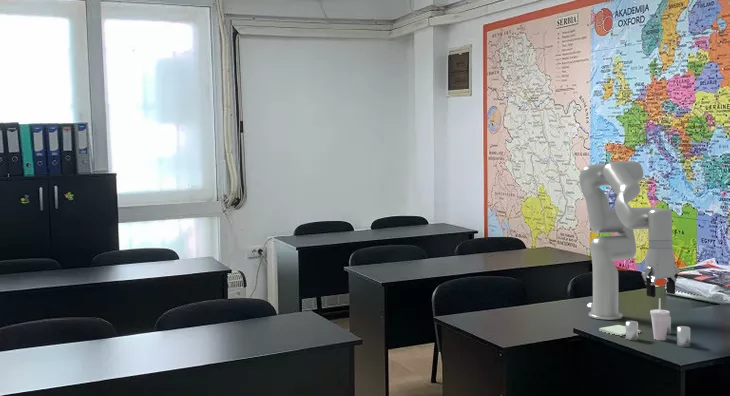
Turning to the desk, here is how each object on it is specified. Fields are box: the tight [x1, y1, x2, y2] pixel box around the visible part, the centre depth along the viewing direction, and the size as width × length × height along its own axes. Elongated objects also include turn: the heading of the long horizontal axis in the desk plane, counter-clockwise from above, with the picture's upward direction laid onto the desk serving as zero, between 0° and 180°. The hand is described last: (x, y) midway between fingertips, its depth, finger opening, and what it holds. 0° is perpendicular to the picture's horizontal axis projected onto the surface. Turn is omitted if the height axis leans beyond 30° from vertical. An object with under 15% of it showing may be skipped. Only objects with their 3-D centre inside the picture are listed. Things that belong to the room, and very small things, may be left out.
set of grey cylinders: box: [625, 315, 691, 348], centre depth 242 cm, size 18×20×6 cm
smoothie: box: [649, 298, 671, 341], centre depth 244 cm, size 6×6×14 cm
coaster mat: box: [598, 324, 642, 336], centre depth 255 cm, size 10×10×1 cm
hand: (661, 294), depth 243 cm, fingers open, 9 cm apart
